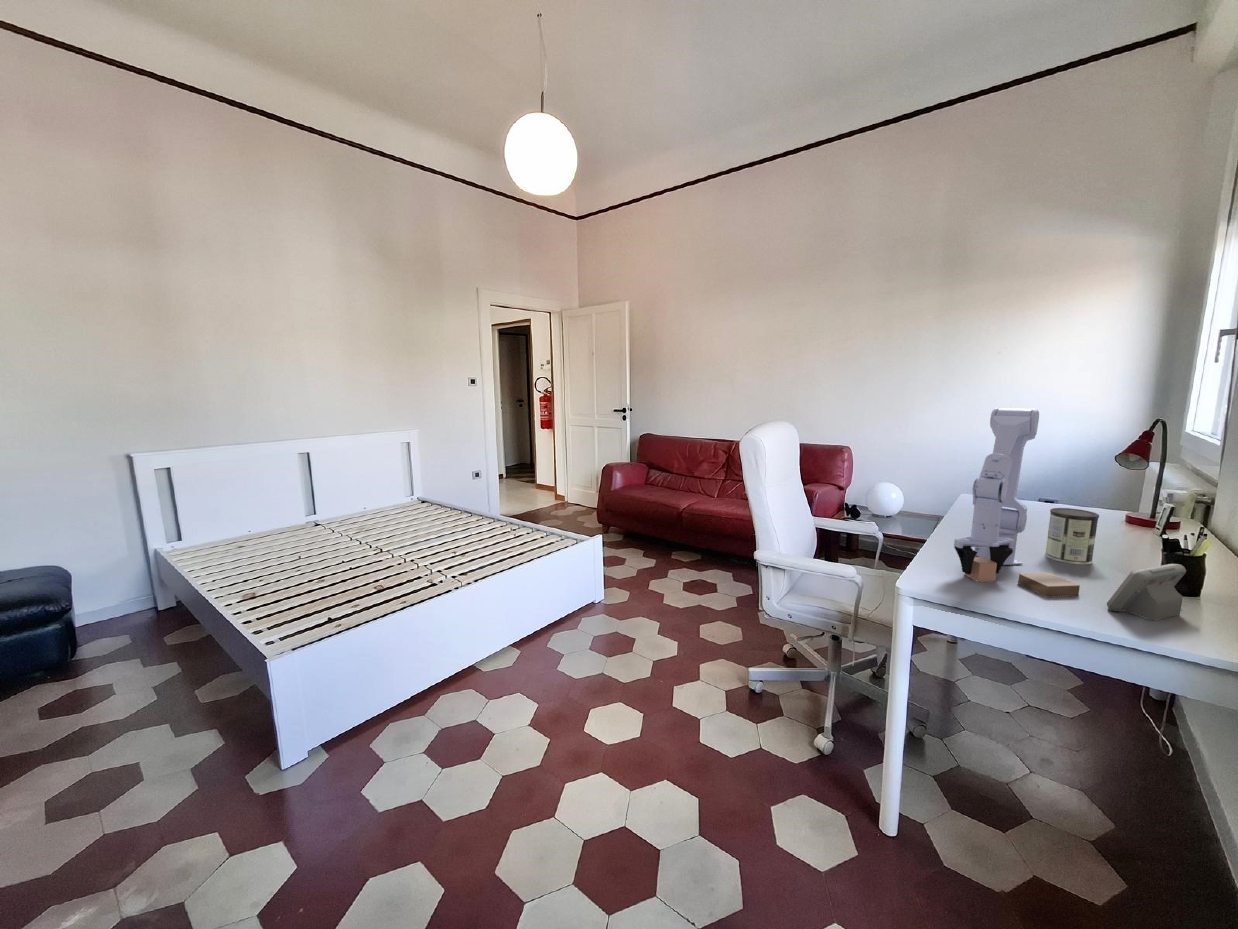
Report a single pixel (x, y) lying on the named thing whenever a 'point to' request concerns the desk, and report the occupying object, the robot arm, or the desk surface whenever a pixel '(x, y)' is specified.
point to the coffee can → (1071, 535)
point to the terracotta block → (983, 569)
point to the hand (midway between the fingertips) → (980, 572)
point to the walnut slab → (1049, 584)
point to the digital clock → (1150, 592)
